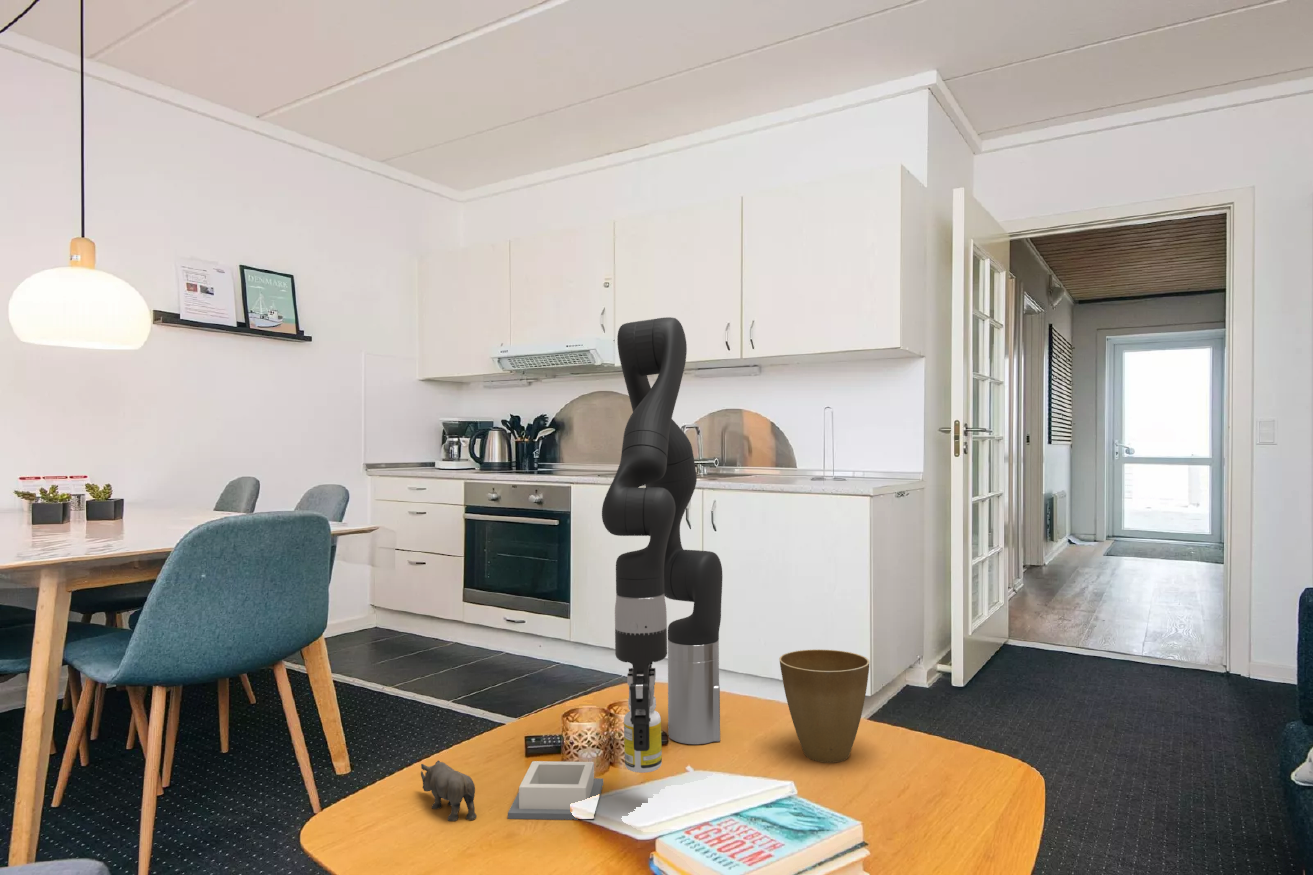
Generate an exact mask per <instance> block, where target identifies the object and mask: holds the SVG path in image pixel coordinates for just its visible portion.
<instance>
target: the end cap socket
mask: <svg viewBox="0 0 1313 875" xmlns="http://www.w3.org/2000/svg"><path fill="white" fill-rule="evenodd" d="M602 786H604V778H601V777H599V778H598V777H597V778H595V762H594V761H549V760H548V761H543V760H539V761H537V760H536V761H535V760H532V762H531V763H530V765H529V768H528V769H527V771H526V773H525V775H524V777H523V778H522V781H521V783H520V785H519V787H518V792H517V794H516V796H515V798H514V799H513V800H514V801H513V802H512V804H511V806H510V808H509V810H508V811H507V820H508V819H514V820H561V821H563V820H564V819H565V820H566V821H568V820H570V821H571V820H572V819H574V821H579V820H578V819H577V818H575V817H574V816H573V815H572V813H571V812H570V804H571V803H575V802H578V801H582V800H585V799H587V798H590V797H592V796H596V795H598V794H602V791H601V790H603V787H602ZM572 821H573V820H572Z"/></svg>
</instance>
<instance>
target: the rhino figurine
mask: <svg viewBox="0 0 1313 875" xmlns="http://www.w3.org/2000/svg"><path fill="white" fill-rule="evenodd" d="M421 769H422V770H421V771H420V776H421V781H422V789H423V791H424V792H430V791H431V794H432V796H433V798H434V803H433V804H432V805H431V809H432V810H438V809H441V808H442V799H443V800H445V801H448V802H447V806H450V807H451V810H450V811H451V812H450V814H448V816H447V821H448V822H456V821H457V820H459V815H458V813H459V811H460V808H461V807H460V806H461V803H462V800H464V802H465V805H466V808H467V814H466V817H465V819H466V820H469V821H473V820H475V819H476V818H477V814H476V813H475V811H476V810H475V808H476V807H475V801H474V799H475V794H476V793H475V792H476V787H475V783H474V781H473V779H472V778H471V777H470V776H469V775H467V774H464V773H462V772H461V771H460V772H459V771H458V770H455V769H453V768H452V767H450V766H449V765H448V764H446V763H445V762H443V761H440V760H437V761H436V762H435V764H433V765H430V766H428V765H426V764H424V763H421ZM423 771H425V774H424V772H423Z"/></svg>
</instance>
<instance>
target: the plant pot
mask: <svg viewBox="0 0 1313 875" xmlns="http://www.w3.org/2000/svg"><path fill="white" fill-rule="evenodd" d="M778 660H779V665H780V673H781V679H782V685H783V688H784V693H785V694H784V695H785V697H786V699H785V700H786V702H787V705H788V710H789V714H790V716H791V721H792V724H793V727H794V730H795V734H796V736H797V738H798V742H799V744H800V747H801V749H802V751H803V754H804V755H805V757H806V758H807V759H810V760H812V761H816V762H821V763H839V762H840V763H841V762H842V761H843V762H844V761H845V760H847V759H848V758H849V756H850V754H851V752H852V749H853V746H854V743H855V740H856V738H857V737H856V736H857V733H858V730H859V726H860V724H861V718H862V715H863V714H862V713H863V710H864V705H865V700H866V693H867V688H868V682H869V670H870V662H871V661H870V659H868V658H867V657H866V656H863V655H861V654H858V653H854V652H851V651H850V652H849V651H844V650H835V649H802V650H801V649H800V650H795V651H789V652H787V653H784V654H782V655H780V657H779V659H778Z"/></svg>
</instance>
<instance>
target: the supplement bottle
mask: <svg viewBox="0 0 1313 875" xmlns="http://www.w3.org/2000/svg"><path fill="white" fill-rule="evenodd" d="M627 700H628V702H627V704H628V705H627V706H628V707H627V708H628V710H629V711H628V712H626V714H625V715H624V717H623V741H624V742H623V744H624V745H623V746H624V747H623V748H624V752H623V753H624V766H625V768H626V769H627V770H628V771H630V772H635V773H642V774H643V773H651V772H654V771H657V770H659V769H660V768H661V767H662V764H663V762H662V761H663V758H662V757H663V754H662V719H661V718H662V717H661V715H660V713H659V712H658V711H657V710H655V709H656V707H657V701H656V700H657V699H656V696H655V695H654V696H653V706H652V707H650V718H651V722H650V724H649V741H650V746H649V750H648V751H636V750H634V732H633V724H632V723H631V721H630V719H631V706H630V705H629V698H628V699H627ZM636 715H645V710H644V709H636Z"/></svg>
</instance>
